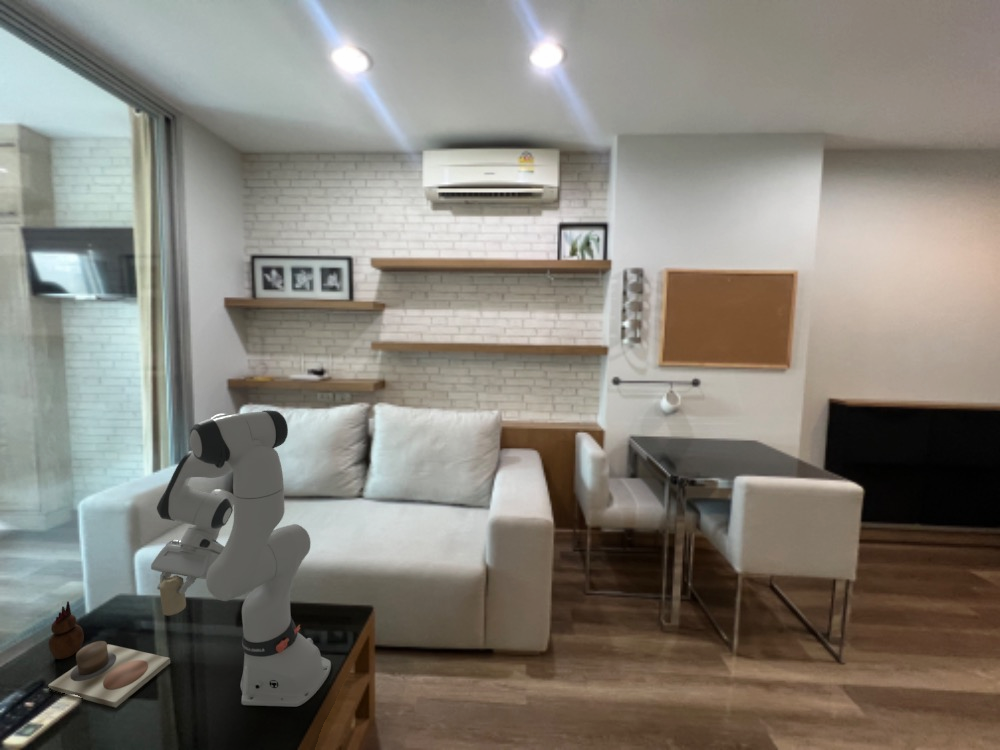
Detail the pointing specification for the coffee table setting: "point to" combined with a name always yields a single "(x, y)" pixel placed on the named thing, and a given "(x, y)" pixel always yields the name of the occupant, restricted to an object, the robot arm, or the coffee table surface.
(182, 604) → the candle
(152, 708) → the coffee table surface
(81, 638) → the wooden figurine
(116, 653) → the board
